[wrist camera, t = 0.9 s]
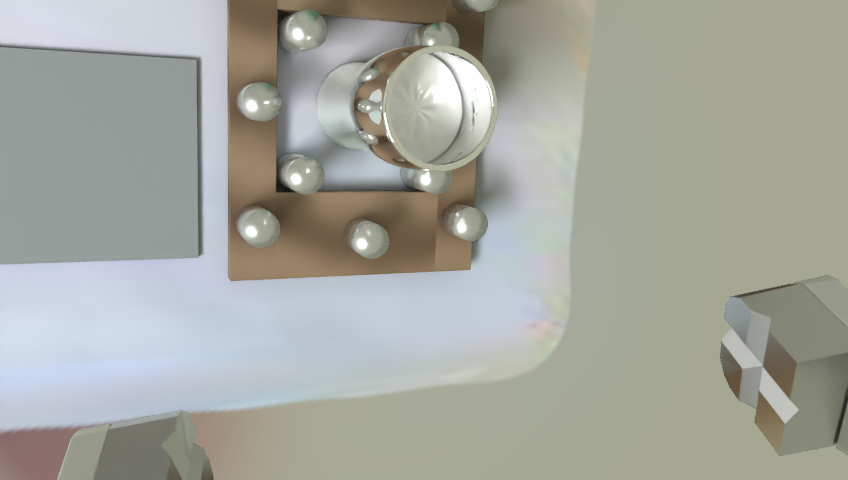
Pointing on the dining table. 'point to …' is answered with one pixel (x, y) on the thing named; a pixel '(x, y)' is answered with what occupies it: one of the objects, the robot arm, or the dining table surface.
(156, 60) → the grey mat
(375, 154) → the silver metal tumbler
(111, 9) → the dining table surface
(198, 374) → the dining table surface
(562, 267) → the dining table surface
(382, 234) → the spacers
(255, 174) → the board
